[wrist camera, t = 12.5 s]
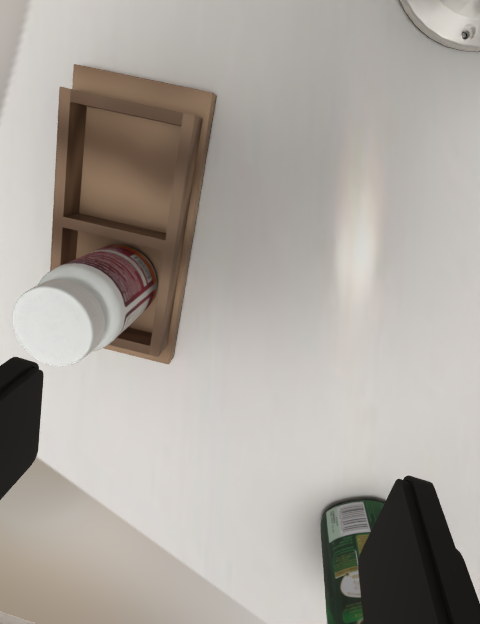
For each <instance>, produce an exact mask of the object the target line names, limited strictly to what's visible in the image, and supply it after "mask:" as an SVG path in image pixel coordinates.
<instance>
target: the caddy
mask: <svg viewBox="0 0 480 624" xmlns="http://www.w3.org/2000/svg"><path fill="white" fill-rule="evenodd" d="M215 102H216V95H215V94H213V93H211V92H206V91H201V90H197V89H192V88H187V87H182V86H177V85H172V84H168V83H163V82H158V81H153V80H148V79H143V78H139V77H134V76H129V75H124V74H119V73H114V72H110V71H105V70H100V69H95V68H90V67H85V66H81V65H76V64H74V71H73V88H72V89H68V88H64V87H60V91H59V110H58V130H57V150H56V169H55V189H54V208H53V228H52V248H51V267H50V271H51V270H53V269H55V268H57V267H59V266H61V265H63V264H66V263H69V262H71V261H73V260H75V259H77V258H80V257H82V256H84V255H87V254H89V253H91V252H94V251H96V250H98V249H100V248H103V247H106V246H109V245H116V244H119V245H126V246H129V247H132V248H134V249H136V250H138V251H139V252H141V253H142V254H143V255H144V256H145V257H146V258H147V259H148V260H149V261H150V263H151V264H152V266H153V268H154V270H155V273H156V277H157V291H156V295H155V298H154V300H153V301H152V303H151V304H150V306H149V307H148V308H147V309H146V310H145V311H144V312H143V313H142V314H141V315H140V316H139V317H138V318H137V319H136V320H135V321H133V322H132V323H131V324H130V325H129V326H128V327H127V328H126V329H125V330H124V331H123V332H122V333H121V334H120V335H119V336H118V337H117V338H116V339H115V340H114V341H113V342H111V343H110V344H108V345H107V346H105V347H104V348H105V349H109V350H113V351H117V352H121V353H125V354H129V355H133V356H137V357H141V358H145V359H149V360H153V361H157V362H161V363H165V364H169V363H170V362H171V360H172V359H173V357H174V351H175V345H176V339H177V333H178V327H179V321H180V315H181V309H182V303H183V296H184V290H185V284H186V278H187V272H188V266H189V260H190V254H191V248H192V242H193V236H194V229H195V223H196V217H197V211H198V205H199V199H200V193H201V187H202V181H203V175H204V169H205V163H206V156H207V150H208V144H209V138H210V132H211V126H212V120H213V114H214V108H215Z"/></svg>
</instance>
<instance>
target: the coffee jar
mask: <svg viewBox="0 0 480 624" xmlns="http://www.w3.org/2000/svg"><path fill="white" fill-rule="evenodd" d="M383 506H384V503H381V502H379V501H373V500H354V501H348V502H344V503H341V504H339V505H336V506H334V507H332V508H330V509H329V510H328V511H326V512H325V514H324V515H323V517H322V520H321V540H322V554H323V568H324V582H325V598H326V614H327V624H364V621H363V611H362V602H361V592H360V582H359V572H358V561H359V556H360V553H361V551H362V549H363V546H364V544H365V542H366V540H367V538H368V536H369V534H370V532H371V530H372V528H373V526H374V524H375V522H376V520H377V518H378V516H379V514H380V512H381V510H382V508H383Z"/></svg>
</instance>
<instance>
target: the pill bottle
mask: <svg viewBox="0 0 480 624" xmlns="http://www.w3.org/2000/svg"><path fill="white" fill-rule="evenodd" d="M156 291H157V277H156V273H155V270H154V268H153V266H152V264H151V263H150V261H149V260H148V259H147V258H146V257H145V256H144V255H143V254H142V253H141V252H139V251H138V250H136V249H134V248H132V247H129V246H126V245H119V244H116V245H109V246H106V247H103V248H100V249H98V250H96V251H94V252H91V253H89V254H87V255H84V256H82V257H80V258H77V259H75V260H73V261H71V262H69V263H66V264H63V265H61V266H59V267H57V268H55V269H53V270H51V271H50V272H48V273H47V274H46V275H45V276H44V277H43V278H42V279H41V281H40V282H39V284H38V286H36V287H34V288H32V289H30V290H28V291H27V292H25V293H24V294H23V295H22V296H21V297H20V298H19V299H18V301H17V302H16V304H15V307H14V310H13V315H12V323H13V329H14V332H15V335H16V337H17V339H18V341H19V343H20V344H21V345H22V347H23V348H24V349H25V350H26V351H27V352H28V353H29V354H30V355H31V356H32V357H34V358H35V359H37V360H39V361H41V362H43V363H45V364H48V365H52V366H68V365H72V364H74V363H77V362H78V361H80V360H82V359H83V358H84V357H85V356H86V355H88V354H89V353H91V352H92V351H96V350H99V349H102V348H104V347H105V346H107V345H108V344H110V343H111V342H113V341H114V340H115V339H116V338H117V337H118V336H119V335H120V334H121V333H122V332H123V331H124V330H125V329H126V328H127V327H128V326H129V325H130V324H131V323H132V322H133V321H135V320H136V319H137V318H138V317H139V316H140V315H141V314H142V313H143V312H144V311H145V310H146V309H147V308H148V307H149V306H150V304H151V303H152V301H153V300H154V298H155V295H156Z"/></svg>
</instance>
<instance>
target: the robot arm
mask: <svg viewBox="0 0 480 624" xmlns="http://www.w3.org/2000/svg"><path fill="white" fill-rule="evenodd" d="M400 1H401V3H402V6H403V8H404V10H405V12H406V13H407V15H408V16H409V17H410V19H411V20H412V21H413V23H414V24H415V25H416V26H417V27H418V28H419V29H420V30H421V31H422V32H424V33H425V34H426V35H427V36H428V37H429V38H431V39H433V40H435V41H437V42H439V43H441V44H443V45H445V46H447V47H451V48H455V49H459V50H463V51H480V0H400ZM462 32H465V33H467V39H465V40H464V39H463V38H462V36H461V34H462ZM42 388H43V371H41V370H39V366H38V364H37V363H35V362H32V361H28V360H25V359H22V358H18V357H13V358H11V359H9V360H8V361H7V362H5V363H4V364H2V365H1V366H0V500H1V498H2V497H3V496H4V495H5V494H6V493H7V492H8V491H9V490H10V488H11V487H12V486H13V485H14V484H15V483H16V482H17V480H18V479H19V478H20V477H21V476H22V475H23V474H24V473H25V472H26V470H27V469H28V468H29V467H30V466H31V465H32V463H33V462H34V460H35V458H36V456H37V453H38V443H39V429H40V416H41V402H42ZM358 572H359V582H360V592H361V602H362V611H363V621H364V624H480V603H479V600H478V598H477V595H476V592H475V589H474V586H473V584H472V581H471V578H470V575H469V573H468V570H467V567H466V564H465V562H464V559H463V557H462V555H461V553H460V552H459V551H458V550H457V549H456V548H455V545H454V542H453V539H452V536H451V534H450V531H449V528H448V525H447V522H446V519H445V516H444V514H443V511H442V508H441V505H440V502H439V499H438V496H437V494H436V491H435V488H434V486H433V484H432V483H431V482H428V481H425V480H422V479H418V478H415V477H412V476H406V477H405V478H404V479H403V480H401V479H398V480H396V482H395V484H394V486H393V488H392V490H391V492H390V494H389V496H388V498H387V500H386V502H385V504H384V506H383V508H382V510H381V512H380V514H379V516H378V518H377V520H376V522H375V524H374V526H373V528H372V530H371V532H370V534H369V536H368V538H367V540H366V542H365V544H364V546H363V549H362V551H361V553H360V556H359V561H358ZM0 624H36V623H33V622H30V621H27V620H24V619H21V618H18V617H15V616H12V615H9V614H6V613H3V612H0Z"/></svg>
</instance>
